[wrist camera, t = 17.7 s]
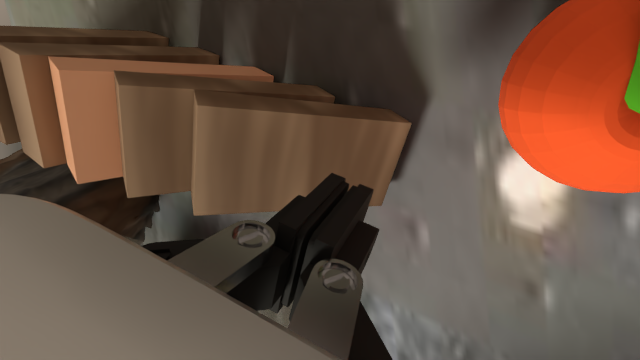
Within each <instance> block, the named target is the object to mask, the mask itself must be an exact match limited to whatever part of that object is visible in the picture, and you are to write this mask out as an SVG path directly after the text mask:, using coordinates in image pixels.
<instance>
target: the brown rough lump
mask: <svg viewBox="0 0 640 360" xmlns="http://www.w3.org/2000/svg"><path fill="white" fill-rule="evenodd" d="M0 194H12V195H20V196H26V197H32V198H37V199H41V200H44V201H48V202H51V203H55V204H57V205H60V206H62V207H65V208H67V209H70V210H72V211H75V212H77V213H79V214H81V215H83V216H85V217H87V218H89V219H91V220H93V221H95V222H97V223H99V224H101V225H103V226H104V227H106V228H108V229H110V230H112V231H114V232H116V233H118V234H119V235H122V236H125V237H129V238H132V239H135V240H139V241H142V242H144V240H145V238H144V237H145V235H144V231H145V227H149V228H151V226H152V220H151V218H152V215H153V210H154V211H155V212H158V211H160V207H159V204H158V198H159V195H150V196H141V197H133V198H128V197H127V192H126V188H125V183H124V178H123V177H117V178H111V179H106V180H100V181H94V182H88V183H82V184H77V182H76V180H75V178H74V176H73V174H72V172H71V170H70V168H69V167H68V165H67V163H66V164H61V165H57V166H53V167H48V168H43V167H42V166H40V165H39V164H38V163H37V162H35V161H34V160H33V159H32V158H30V157H29V156H28V155H27V154H25V153H24V152H23V148H22V149H21V150H19V151H17V152H15V153H13V154H12V155H10V156H9V157H6V158H4V159H1V160H0Z"/></svg>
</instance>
